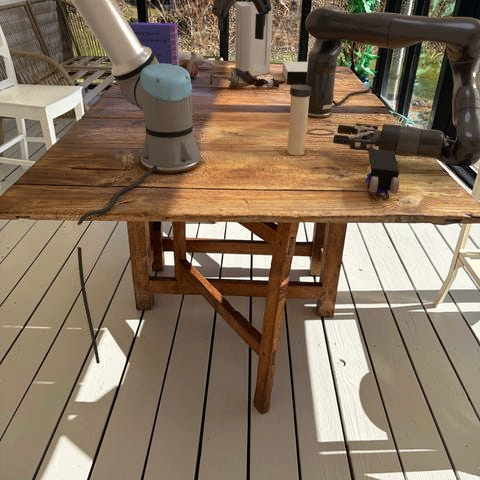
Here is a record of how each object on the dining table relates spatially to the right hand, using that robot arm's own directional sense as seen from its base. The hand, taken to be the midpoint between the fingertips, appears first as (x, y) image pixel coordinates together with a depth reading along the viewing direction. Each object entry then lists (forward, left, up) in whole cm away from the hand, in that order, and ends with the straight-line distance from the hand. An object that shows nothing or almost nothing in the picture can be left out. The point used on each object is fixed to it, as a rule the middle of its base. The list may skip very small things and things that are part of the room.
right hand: (335, 133), depth 125 cm
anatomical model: (-69, -71, -6) cm, 99 cm away
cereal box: (-50, -75, -6) cm, 91 cm away
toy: (-93, -81, -6) cm, 123 cm away
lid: (0, -10, +11) cm, 15 cm away
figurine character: (+18, +13, -6) cm, 23 cm away
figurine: (-65, -43, -6) cm, 78 cm away
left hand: (-12, -30, +19) cm, 37 cm away
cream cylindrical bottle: (0, -10, -6) cm, 12 cm away
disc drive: (-90, -24, -6) cm, 94 cm away
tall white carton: (-94, -48, -6) cm, 106 cm away
